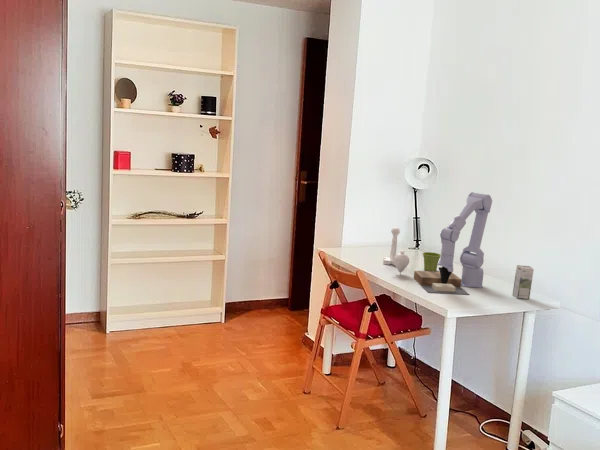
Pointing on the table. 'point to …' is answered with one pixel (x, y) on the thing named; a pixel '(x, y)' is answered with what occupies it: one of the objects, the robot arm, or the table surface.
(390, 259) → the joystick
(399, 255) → the spinning top
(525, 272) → the syrup box
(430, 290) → the mat
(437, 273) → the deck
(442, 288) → the card
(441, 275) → the robot arm
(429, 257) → the plant pot
